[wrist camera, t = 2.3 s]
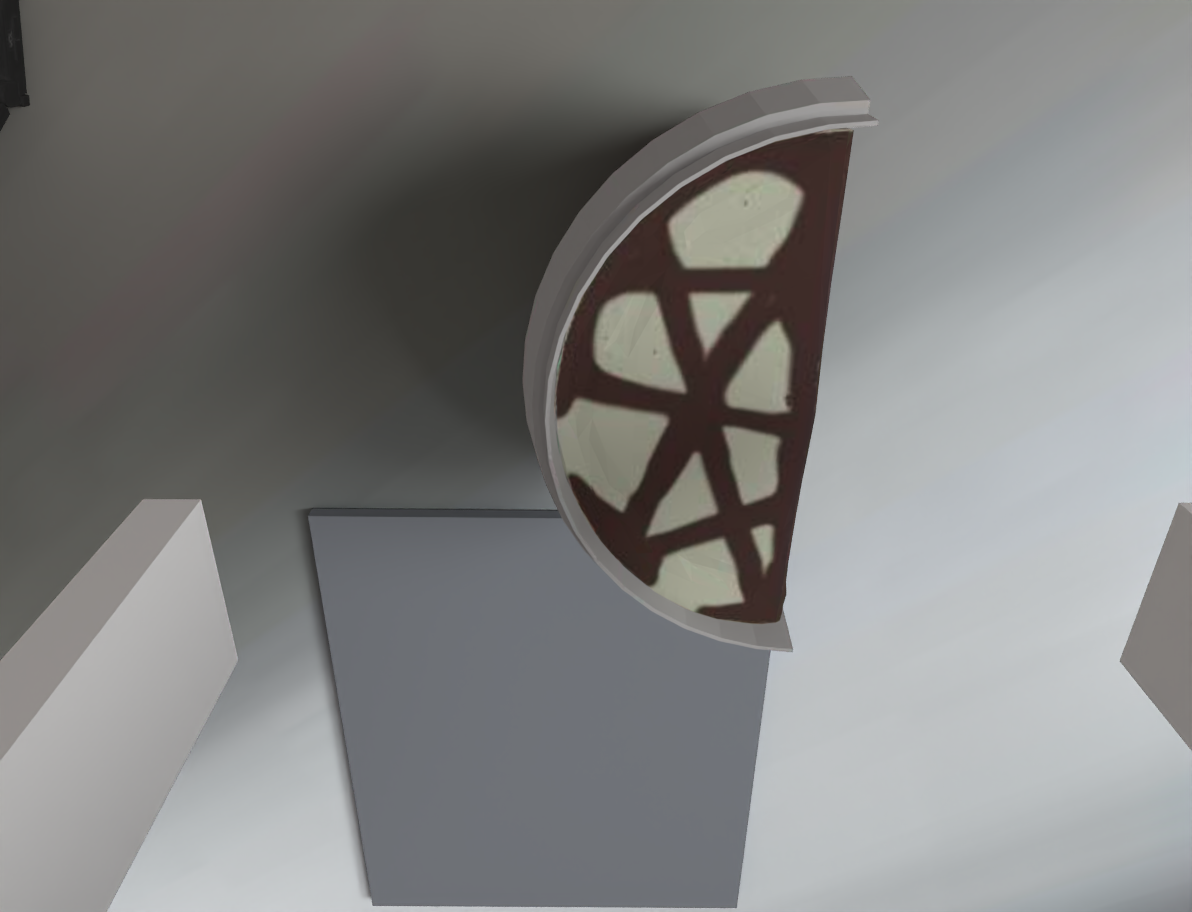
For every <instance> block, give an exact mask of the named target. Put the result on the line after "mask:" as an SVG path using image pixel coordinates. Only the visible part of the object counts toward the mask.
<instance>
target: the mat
mask: <svg viewBox="0 0 1192 912" xmlns="http://www.w3.org/2000/svg"><path fill="white" fill-rule="evenodd" d="M308 519H309V525H310V531H311V537H312V543H313V549H314V555H315V561H316V567H317V573H318V579H319V585H320V591H321V597H322V603H323V610H324V616H325V622H326V628H327V634H328V640H329V646H330V652H331V658H332V664H333V670H334V676H335V682H336V688H337V694H338V700H339V706H340V712H341V718H342V724H343V730H344V736H345V742H346V748H347V754H348V760H349V766H350V772H351V778H352V784H353V790H354V796H355V802H356V808H357V814H358V821H359V827H360V833H361V839H362V845H363V851H364V857H365V863H366V869H367V875H368V881H369V887H370V893H371V899H372V905H373V906H490V907H656V908H737V901H738V893H739V886H740V878H741V871H742V863H743V855H744V848H745V840H746V832H747V825H748V817H749V810H750V802H751V794H752V787H753V779H754V771H755V764H756V756H757V749H758V741H759V733H760V726H761V718H762V710H763V703H764V695H765V688H766V680H767V672H768V665H769V657H770V650H762V649H754V648H750V647H745V646H740V645H735V644H731V643H726V642H721V641H718V640H715V639H712V638H709V637H707V636H704V635H701V634H698V633H695V632H693V631H690V630H687V629H684V628H682V627H680V626H679V625H677V624H675V623H673V622H671V621H669V620H667V619H665V618H663V617H662V616H660V615H658V614H656V613H654V612H652V611H651V610H649V609H648V608H647V607H645V606H644V605H642V604H641V603H640V602H638V601H637V600H636V599H634V598H633V597H632V596H630V595H629V594H628V593H626V592H625V591H623V590H622V589H621V588H620V587H619V586H618V585H617V584H616V583H615V582H614V581H613V580H612V579H611V578H610V577H609V576H608V575H607V574H606V573H605V572H604V571H603V570H602V569H601V568H600V567H599V566H598V565H597V563H596V562H595V561H594V560H593V559H592V558H591V557H590V556H589V555H588V554H587V553H586V552H585V551H584V550H583V548H582V547H581V545H580V544H579V543H578V541H577V540H576V538H575V537H574V535H573V534H572V533H571V531H570V530H569V528H568V527H567V525H566V524H565V523H564V521H563V519H562V517H561V515H560V513H559V511H549V510H433V509H316V508H312V510H311V512H310V514H309V515H308Z"/></svg>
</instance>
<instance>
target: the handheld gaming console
mask: <svg viewBox="0 0 1192 912" xmlns="http://www.w3.org/2000/svg"><path fill="white" fill-rule="evenodd" d="M25 93H27V90H26V79H25V67H24V56H23V45H22V33H21V22H20V11H19V0H0V131H1V129H2V127H3V125H4V124H5V122H6V120H7V118H8V117H9V115H10V113H9V111H8V109H7V107H15V106H22V107H25V106H29V105H30V102H29V95H25Z"/></svg>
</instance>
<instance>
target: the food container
mask: <svg viewBox="0 0 1192 912" xmlns="http://www.w3.org/2000/svg"><path fill="white" fill-rule="evenodd" d="M869 106H870V99H869V98H868V96H867V95H866V94H865V92H864V91H863V90H862V89H861V87H860V86H859V85H858V83H857V82H856V81H855V80H854V78H853V77H852V76H848V77H834V78H820V79H806V80H798V81H794V82H790V83H785V84H781V85H777V86H772V87H768V88H764V89H759V90H755V91H751V92H747V93H745V94H742V95H740V96H737V97H735V98H733V99H730V100H728V101H725V102H723V103H720V104H718V105H715V106H713V107H710V108H708V109H705V110H703V111H701V112H698V113H697V114H695V115H693V116H692V117H690V118H688V119H687V120H685V121H683V122H682V123H680V124H678V125H677V126H675V127H673V128H672V129H670V130H668V131H667V132H665V133H663V134H662V135H660V136H658V137H657V138H655V139H653V140H652V141H651V142H650V143H648V144H647V145H646V146H645V147H644V148H642V149H641V150H640V151H639V152H638V153H636V154H635V155H634V156H633V157H632V158H630V159H629V160H628V161H627V162H626V163H625V164H623V165H622V166H621V167H620V168H619V169H617V170H616V171H615V172H614V173H613V174H612V175H611V176H610V177H609V178H608V179H607V180H606V182H605V183H604V184H603V185H602V186H601V187H600V188H599V190H598V191H597V192H596V193H595V194H594V195H593V196H592V198H591V199H590V200H589V201H588V202H587V203H586V204H585V206H584V207H583V208H582V209H581V210H580V211H579V213H578V214H577V216H576V218H575V219H574V221H573V222H572V224H571V226H570V227H569V229H568V230H567V232H566V234H565V235H564V237H563V238H562V240H561V242H560V243H559V245H558V246H557V248H556V250H555V251H554V253H553V255H552V257H551V260H550V262H549V265H548V267H547V269H546V272H545V274H544V276H543V279H542V281H541V284H540V286H539V288H538V291H537V293H536V295H535V300H534V304H533V308H532V312H531V316H530V321H529V325H528V329H527V333H526V337H525V349H524V365H523V380H522V382H523V391H524V401H525V410H526V420H527V424H528V428H529V431H530V435H531V438H532V442H533V445H534V449H535V453H536V456H537V460H538V462H539V465H540V468H541V471H542V474H543V477H544V480H545V483H546V486H547V488H548V490H549V492H550V494H551V496H552V498H553V500H554V502H555V505H556V507H557V509H558V511H559V513H560V515H561V517H562V519H563V521H564V523H565V524H566V525H567V527H568V528H569V530H570V531H571V533H572V534H573V535H574V537H575V538H576V540H577V541H578V543H579V544H580V545H581V547H582V548H583V550H584V551H585V552H586V553H587V554H588V555H589V556H590V557H591V558H592V559H593V560H594V561H595V562H596V563H597V565H598V566H599V567H600V568H601V569H602V570H603V571H604V572H605V573H606V574H607V575H608V576H609V577H610V578H611V579H612V580H613V581H614V582H615V583H616V584H617V585H618V586H619V587H620V588H621V589H622V590H623V591H625V592H626V593H628V594H629V595H630V596H632V597H633V598H634V599H636V600H637V601H638V602H640V603H641V604H642V605H644V606H645V607H647V608H648V609H649V610H651V611H652V612H654V613H656V614H658V615H660V616H662V617H663V618H665V619H667V620H669V621H671V622H673V623H675V624H677V625H679V626H680V627H682V628H684V629H687V630H690V631H693V632H695V633H698V634H701V635H704V636H707V637H709V638H712V639H715V640H718V641H721V642H726V643H731V644H735V645H740V646H745V647H750V648H754V649H762V650H774V651H786V652H793V648H792V644H791V640H790V636H789V632H788V628H787V624H786V620H785V616H784V612H783V603H784V600H785V597H786V576H787V568H788V560H789V554H790V548H791V542H792V536H793V529H794V523H795V518H796V512H797V506H798V500H799V495H800V489H801V483H802V478H803V474H804V469H805V464H806V459H807V454H808V449H809V444H810V439H811V434H812V429H813V424H814V419H815V413H816V403H817V394H818V385H819V376H820V367H821V358H822V349H823V342H824V334H825V326H826V318H827V311H828V303H829V295H830V288H831V280H832V274H833V267H834V260H835V254H836V247H837V240H838V234H839V227H840V220H841V214H842V207H843V200H844V193H845V186H846V179H847V173H848V166H849V159H850V152H851V145H852V138H853V131H854V130H851V129H848V128H853V127H867V126H878V121H879V120H877V119H876V118H874V117H872V116H871V115H869V114H868V111H869Z"/></svg>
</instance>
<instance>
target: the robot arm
mask: <svg viewBox="0 0 1192 912" xmlns="http://www.w3.org/2000/svg"><path fill="white" fill-rule="evenodd" d="M237 662H238V656H237V652H236V647H235V643H234V639H233V635H232V630H231V626H230V622H229V617H228V613H227V609H226V604H225V600H224V596H223V592H222V587H221V583H220V579H219V574H218V570H217V566H216V562H215V557H214V553H213V549H212V544H211V540H210V536H209V532H208V527H207V523H206V519H205V514H204V510H203V506H202V502H201V499H143V500H142V501H141V502H140V503H139V504H138V505H137V506H136V508H135V509H134V510H133V511H132V512H131V513H130V514H129V515H128V517H127V518H126V519H125V520H124V521H123V522H122V523H121V525H120V526H119V527H118V528H117V529H116V530H115V531H114V532H113V534H112V535H111V536H110V537H109V538H108V539H107V540H106V542H105V543H104V544H103V545H102V546H101V547H100V548H99V549H98V551H97V552H96V553H95V554H94V555H93V556H92V557H91V559H90V560H89V561H88V562H87V563H86V564H85V565H84V566H83V568H82V569H81V570H80V571H79V572H78V573H77V574H76V576H75V577H74V578H73V579H72V580H71V581H70V582H69V583H68V585H67V586H66V587H65V588H64V589H63V590H62V591H61V593H60V594H59V595H58V596H57V597H56V598H55V599H54V600H53V602H52V603H51V604H50V605H49V606H48V607H47V608H46V610H45V611H44V612H43V613H42V614H41V615H40V616H39V617H38V619H37V620H36V621H35V622H34V623H33V624H32V625H31V627H30V628H29V629H28V630H27V631H26V632H25V633H24V634H23V636H22V637H21V638H20V639H19V640H18V641H17V642H16V644H15V645H14V646H13V647H12V648H11V649H10V650H9V651H8V653H7V654H6V655H5V656H4V657H3V658H2V659H1V660H0V912H107V910H108V908H109V906H110V905H111V903H112V901H113V899H114V897H115V895H116V893H117V891H118V889H119V887H120V885H121V884H122V882H123V880H124V878H125V876H126V874H127V872H128V870H129V868H130V866H131V864H132V863H133V861H134V859H135V857H136V855H137V853H138V851H139V849H140V847H141V845H142V843H143V842H144V840H145V838H146V836H147V834H148V832H149V830H150V828H151V826H152V824H153V822H154V821H155V819H156V817H157V815H158V813H159V811H160V809H161V807H162V805H163V803H164V801H165V800H166V798H167V796H168V794H169V792H170V790H171V788H172V786H173V784H174V782H175V780H176V779H177V777H178V775H179V773H180V771H181V769H182V767H183V765H184V763H185V761H186V759H187V758H188V756H189V754H190V752H191V750H192V748H193V746H194V744H195V742H196V740H197V738H198V737H199V735H200V733H201V731H202V729H203V727H204V725H205V723H206V721H207V719H208V717H209V716H210V714H211V712H212V710H213V708H214V706H215V704H216V702H217V700H218V698H219V696H220V695H221V693H222V691H223V689H224V687H225V685H226V683H227V681H228V679H229V677H230V675H231V674H232V672H233V670H234V668H235V666H236V664H237ZM1120 662H1121V663H1122V665H1123V666H1124V667H1125V668H1126V670H1127V671H1128V672H1129V673H1130V675H1131V676H1132V677H1133V678H1134V680H1135V681H1136V682H1137V683H1138V685H1139V686H1140V687H1141V688H1142V690H1143V691H1144V692H1145V693H1146V695H1147V696H1148V697H1149V698H1150V699H1151V701H1152V702H1153V703H1154V704H1155V706H1156V707H1157V708H1158V709H1159V711H1160V712H1161V713H1162V714H1163V716H1164V717H1165V718H1166V719H1167V721H1168V722H1169V723H1170V724H1171V726H1172V727H1173V728H1174V729H1175V731H1176V732H1177V733H1178V734H1179V735H1180V737H1181V738H1182V739H1183V740H1184V742H1185V743H1186V744H1187V745H1188V747H1189V748H1190V749H1191V750H1192V503H1179V504H1178V507H1177V509H1176V512H1175V515H1174V517H1173V520H1172V523H1171V525H1170V528H1169V531H1168V533H1167V536H1166V539H1165V541H1164V544H1163V547H1162V549H1161V552H1160V555H1159V557H1158V560H1157V563H1156V565H1155V568H1154V571H1153V573H1152V576H1151V579H1150V581H1149V584H1148V587H1147V589H1146V592H1145V595H1144V597H1143V600H1142V603H1141V605H1140V608H1139V611H1138V613H1137V616H1136V619H1135V621H1134V624H1133V627H1132V629H1131V632H1130V635H1129V637H1128V640H1127V643H1126V645H1125V648H1124V651H1123V653H1122V656H1121V659H1120Z"/></svg>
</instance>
